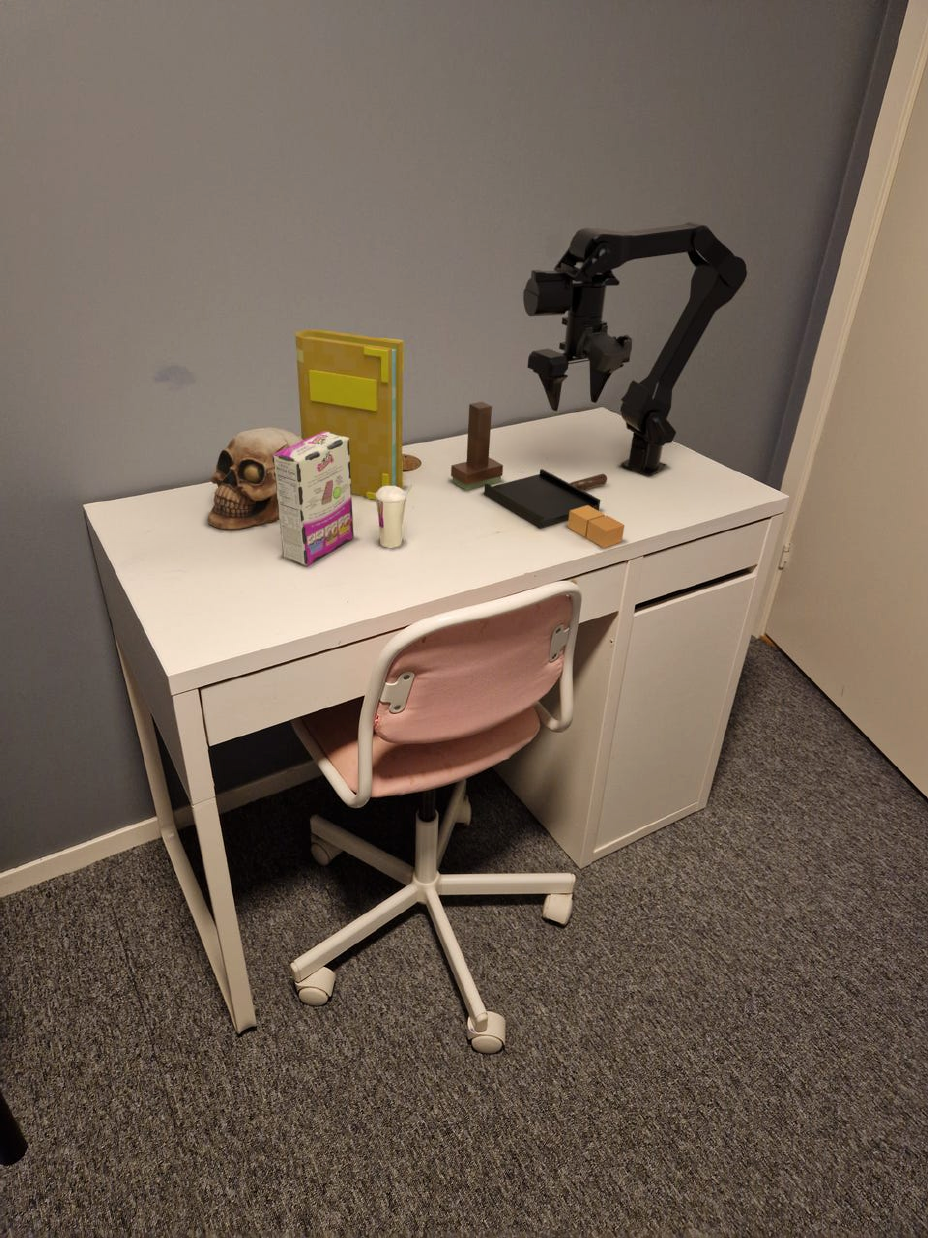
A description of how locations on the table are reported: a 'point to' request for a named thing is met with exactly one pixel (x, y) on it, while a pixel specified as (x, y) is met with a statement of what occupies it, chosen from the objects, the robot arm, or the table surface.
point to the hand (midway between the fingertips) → (574, 406)
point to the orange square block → (605, 531)
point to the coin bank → (248, 479)
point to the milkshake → (391, 514)
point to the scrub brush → (477, 452)
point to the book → (355, 401)
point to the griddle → (545, 497)
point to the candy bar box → (314, 496)
